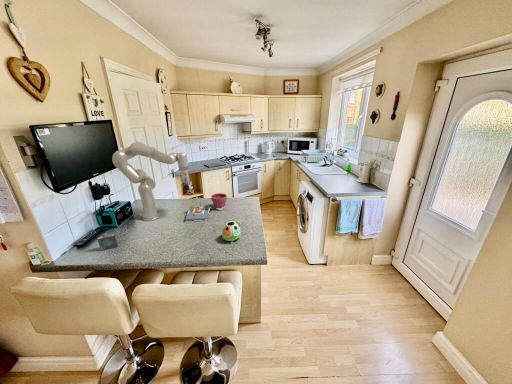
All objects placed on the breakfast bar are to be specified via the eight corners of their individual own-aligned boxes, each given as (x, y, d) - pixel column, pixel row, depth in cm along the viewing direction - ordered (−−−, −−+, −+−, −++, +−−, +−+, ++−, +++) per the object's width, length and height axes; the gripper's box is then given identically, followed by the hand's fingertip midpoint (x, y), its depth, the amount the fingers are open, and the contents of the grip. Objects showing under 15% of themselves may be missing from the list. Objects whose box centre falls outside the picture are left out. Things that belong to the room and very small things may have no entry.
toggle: (199, 206, 182) (199, 201, 182) (200, 206, 183) (199, 201, 184) (201, 206, 182) (201, 201, 182) (201, 206, 183) (201, 201, 184)
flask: (100, 251, 127) (95, 236, 123) (101, 248, 129) (97, 234, 125) (117, 247, 131) (113, 233, 127) (118, 245, 133) (114, 231, 129)
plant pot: (229, 206, 193) (228, 193, 189) (224, 212, 181) (223, 199, 176) (215, 204, 196) (214, 192, 192) (209, 210, 184) (208, 197, 179)
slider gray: (205, 210, 178) (204, 205, 177) (205, 208, 181) (205, 204, 180) (208, 209, 179) (208, 205, 177) (208, 208, 181) (208, 204, 180)
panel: (185, 221, 163) (184, 217, 162) (191, 209, 186) (190, 205, 184) (207, 220, 165) (207, 215, 164) (210, 208, 188) (210, 204, 186)
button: (195, 213, 169) (195, 211, 168) (196, 210, 173) (196, 208, 172) (200, 212, 169) (200, 210, 169) (201, 210, 173) (201, 208, 173)
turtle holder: (247, 233, 147) (247, 218, 143) (233, 245, 132) (232, 230, 128) (233, 228, 153) (233, 214, 149) (218, 240, 138) (217, 225, 134)
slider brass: (190, 210, 177) (189, 206, 175) (190, 209, 180) (190, 205, 178) (193, 210, 177) (193, 206, 176) (194, 209, 180) (193, 205, 179)
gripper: (189, 170, 155) (192, 190, 161) (187, 165, 170) (190, 184, 176) (179, 171, 152) (182, 192, 158) (178, 166, 167) (181, 186, 173)
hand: (186, 188), depth 167 cm, fingers open, 9 cm apart
